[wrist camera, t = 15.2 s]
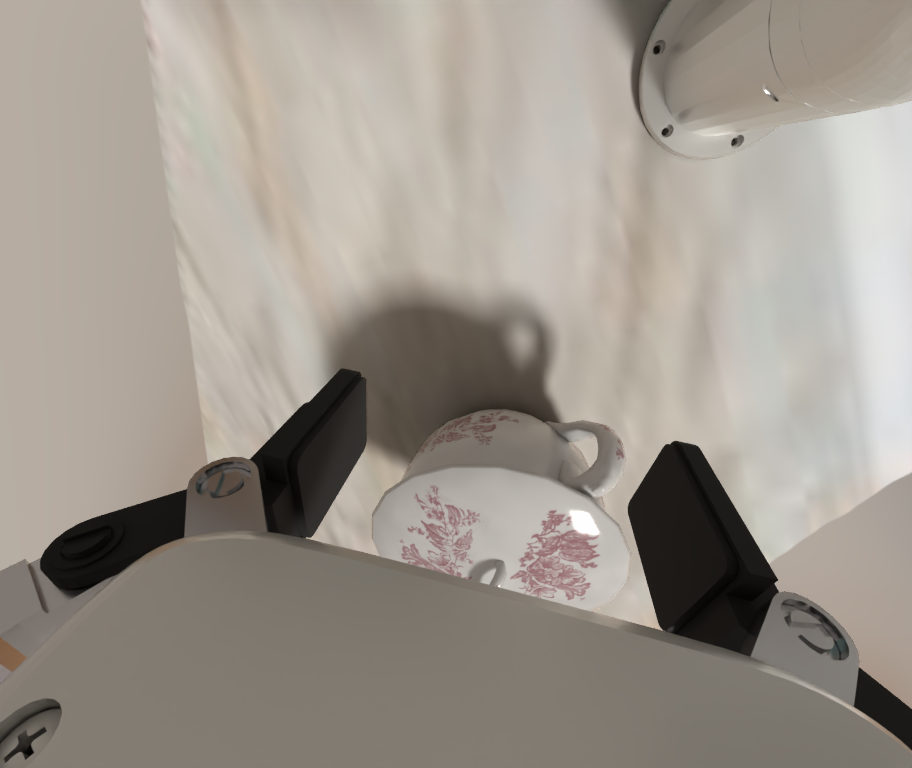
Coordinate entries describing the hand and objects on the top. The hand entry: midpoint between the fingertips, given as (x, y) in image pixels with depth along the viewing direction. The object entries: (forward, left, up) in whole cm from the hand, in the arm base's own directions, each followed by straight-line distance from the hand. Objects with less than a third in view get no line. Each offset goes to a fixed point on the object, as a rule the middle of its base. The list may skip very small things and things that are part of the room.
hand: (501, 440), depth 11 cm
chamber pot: (-4, +28, -31) cm, 42 cm away
